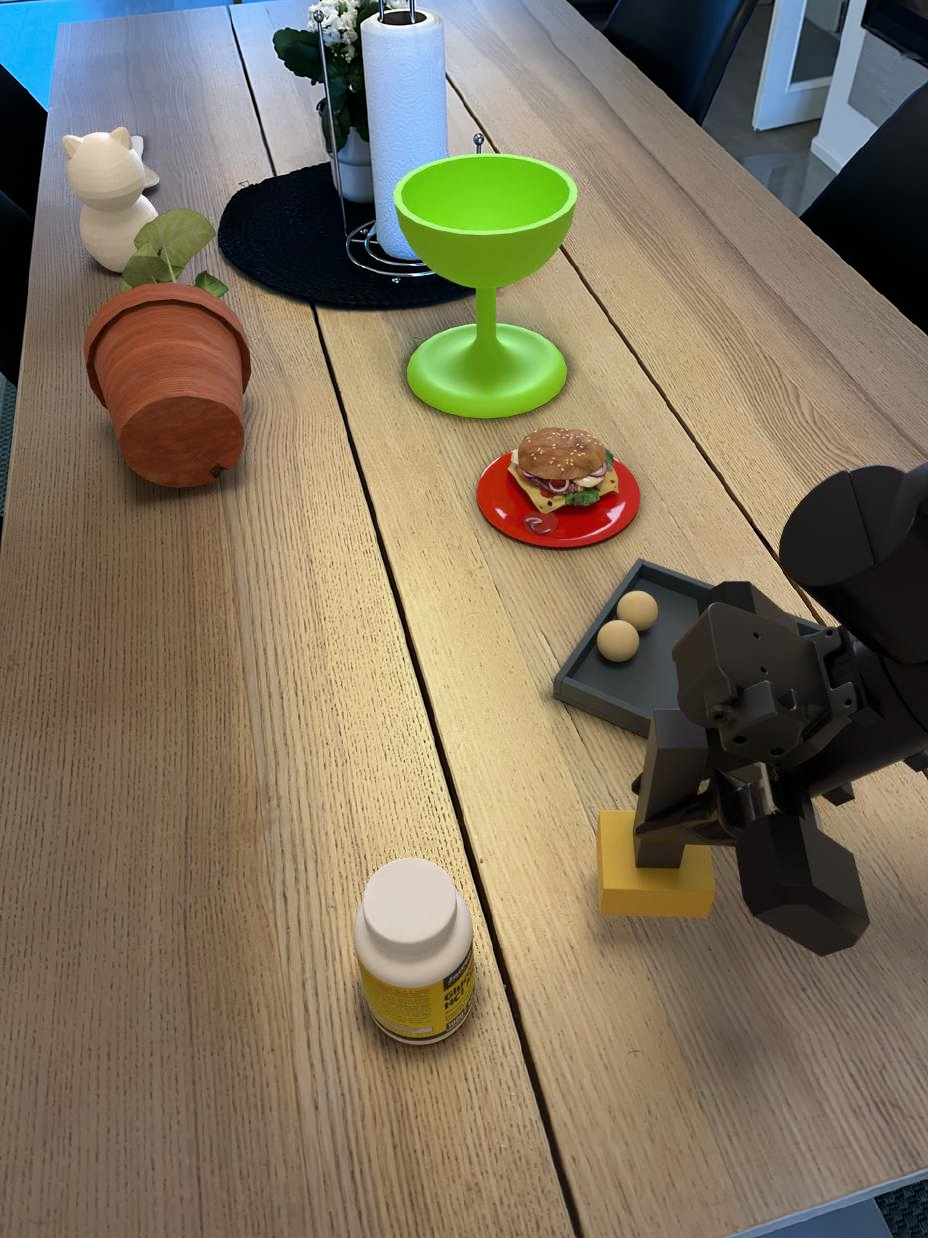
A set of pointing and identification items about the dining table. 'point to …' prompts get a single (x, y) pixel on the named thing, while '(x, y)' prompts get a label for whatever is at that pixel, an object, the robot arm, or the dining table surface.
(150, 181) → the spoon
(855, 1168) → the dining table surface
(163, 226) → the potted plant
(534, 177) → the wineglass
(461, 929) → the pill bottle
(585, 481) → the hamburger
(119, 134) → the cat figurine
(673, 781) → the grey and yellow block
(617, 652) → the crumb
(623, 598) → the crumb
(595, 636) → the tray
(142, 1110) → the dining table surface
